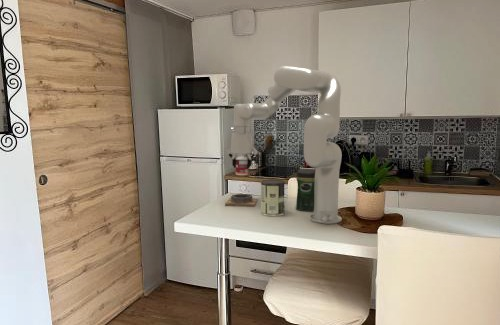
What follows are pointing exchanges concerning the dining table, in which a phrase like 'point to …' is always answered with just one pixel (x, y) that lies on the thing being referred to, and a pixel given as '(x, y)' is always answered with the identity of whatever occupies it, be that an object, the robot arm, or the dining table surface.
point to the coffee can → (272, 197)
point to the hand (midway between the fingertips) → (241, 167)
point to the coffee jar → (305, 189)
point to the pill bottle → (241, 164)
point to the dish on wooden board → (241, 200)
